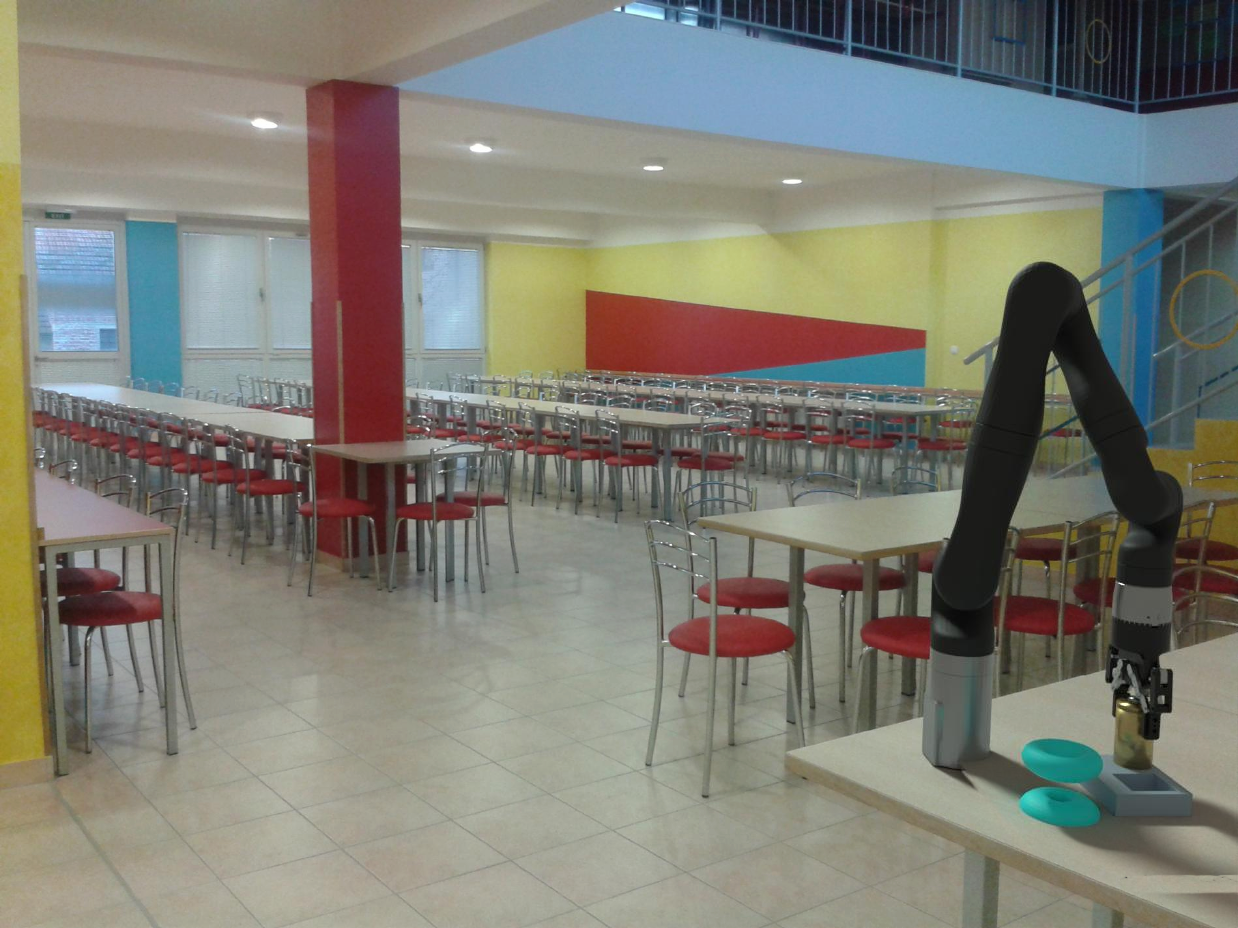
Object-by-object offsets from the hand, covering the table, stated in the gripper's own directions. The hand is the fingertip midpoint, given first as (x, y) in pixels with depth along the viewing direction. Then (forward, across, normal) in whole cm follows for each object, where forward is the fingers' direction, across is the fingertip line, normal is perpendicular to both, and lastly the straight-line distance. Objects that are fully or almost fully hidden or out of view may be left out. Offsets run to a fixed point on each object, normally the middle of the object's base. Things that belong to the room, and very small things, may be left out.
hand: (1134, 728), depth 155 cm
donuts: (+10, +9, -14) cm, 19 cm away
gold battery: (+5, 0, 0) cm, 5 cm away
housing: (+10, +4, -2) cm, 11 cm away
